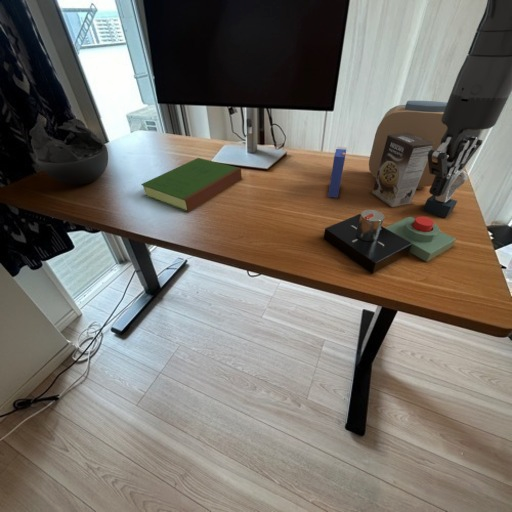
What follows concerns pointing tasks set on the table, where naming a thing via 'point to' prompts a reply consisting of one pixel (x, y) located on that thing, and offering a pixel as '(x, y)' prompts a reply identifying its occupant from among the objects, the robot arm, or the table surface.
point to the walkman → (337, 171)
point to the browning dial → (369, 225)
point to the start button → (423, 224)
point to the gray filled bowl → (70, 153)
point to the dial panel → (367, 245)
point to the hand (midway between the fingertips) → (435, 194)
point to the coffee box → (401, 168)
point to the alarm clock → (410, 131)
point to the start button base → (422, 239)
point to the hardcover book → (192, 183)
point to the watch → (446, 197)
